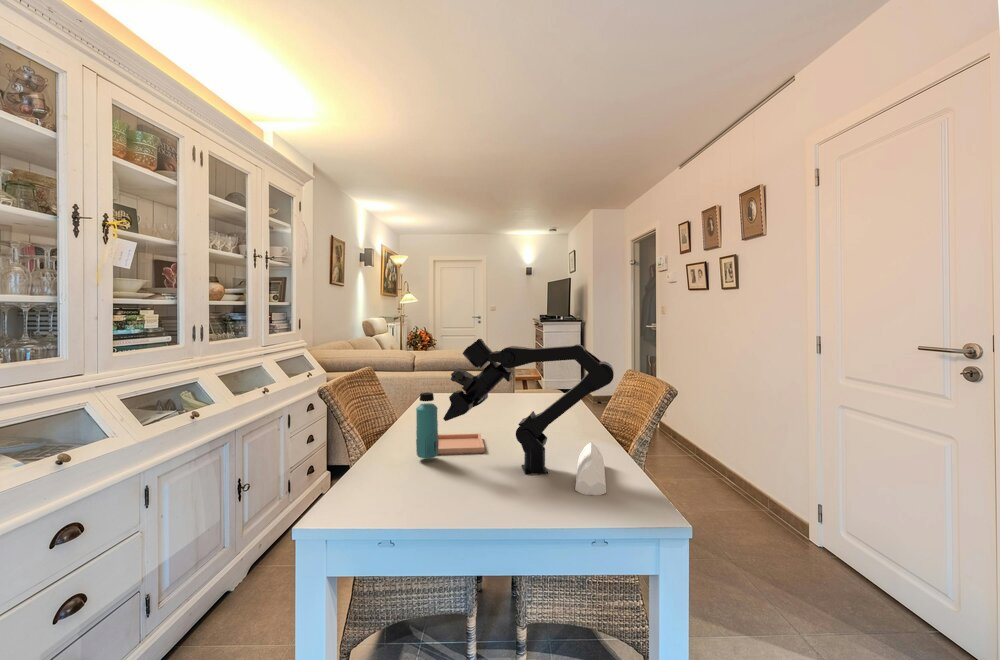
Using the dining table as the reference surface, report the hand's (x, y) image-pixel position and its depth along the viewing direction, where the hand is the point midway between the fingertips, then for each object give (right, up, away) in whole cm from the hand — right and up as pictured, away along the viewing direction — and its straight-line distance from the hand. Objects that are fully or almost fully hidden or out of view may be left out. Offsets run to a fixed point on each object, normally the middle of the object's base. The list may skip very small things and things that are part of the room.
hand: (450, 416), depth 128 cm
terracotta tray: (+1, -13, +16) cm, 21 cm away
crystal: (+38, -15, -12) cm, 43 cm away
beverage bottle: (-7, -14, +2) cm, 16 cm away
